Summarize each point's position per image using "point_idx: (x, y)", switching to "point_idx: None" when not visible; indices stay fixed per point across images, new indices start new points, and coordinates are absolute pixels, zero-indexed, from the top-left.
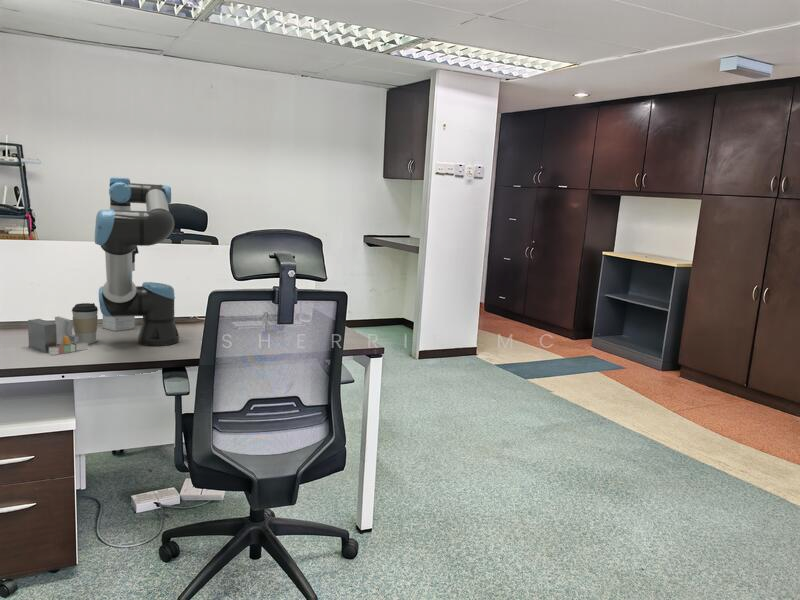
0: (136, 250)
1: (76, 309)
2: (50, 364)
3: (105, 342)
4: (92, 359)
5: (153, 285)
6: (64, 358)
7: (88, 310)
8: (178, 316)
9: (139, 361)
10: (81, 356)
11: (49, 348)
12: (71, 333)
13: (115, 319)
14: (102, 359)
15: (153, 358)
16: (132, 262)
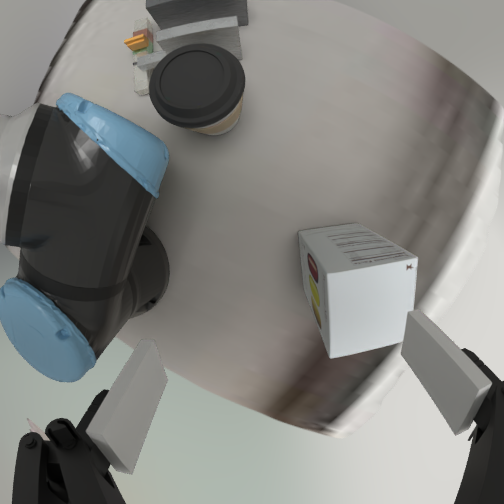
0: (48, 479)
1: (177, 48)
2: (87, 25)
3: (181, 151)
4: (68, 88)
5: (2, 306)
6: (104, 45)
7: (150, 82)
8: (353, 411)
9: None
10: (96, 73)
11: (145, 19)
12: None
13: (303, 240)
14: None
15: None
16: (104, 398)
